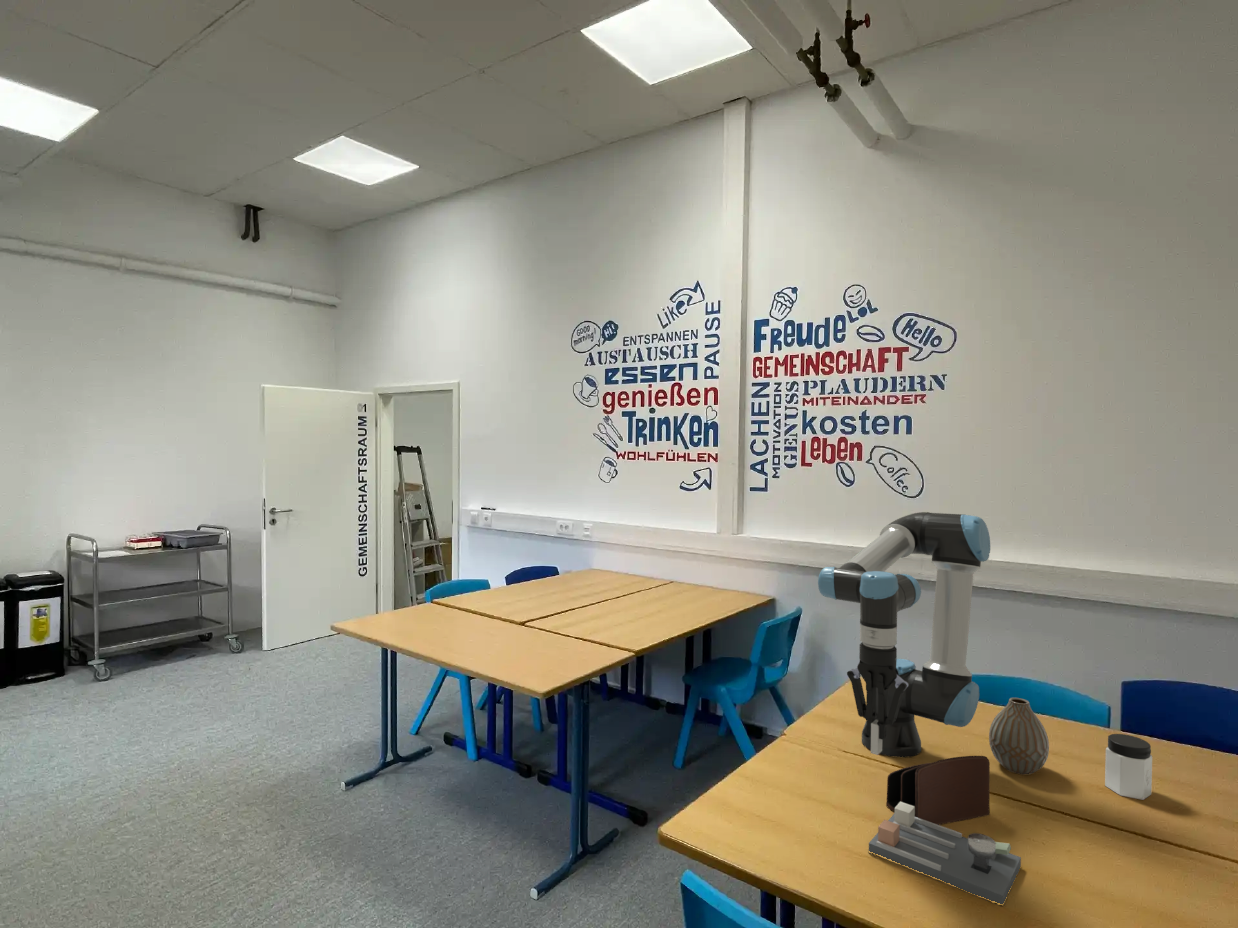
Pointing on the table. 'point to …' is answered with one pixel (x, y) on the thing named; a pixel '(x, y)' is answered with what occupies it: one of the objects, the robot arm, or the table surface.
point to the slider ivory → (904, 814)
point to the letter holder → (943, 789)
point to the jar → (1128, 766)
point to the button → (981, 849)
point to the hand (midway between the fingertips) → (876, 751)
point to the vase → (1019, 738)
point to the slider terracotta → (888, 833)
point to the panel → (951, 859)
